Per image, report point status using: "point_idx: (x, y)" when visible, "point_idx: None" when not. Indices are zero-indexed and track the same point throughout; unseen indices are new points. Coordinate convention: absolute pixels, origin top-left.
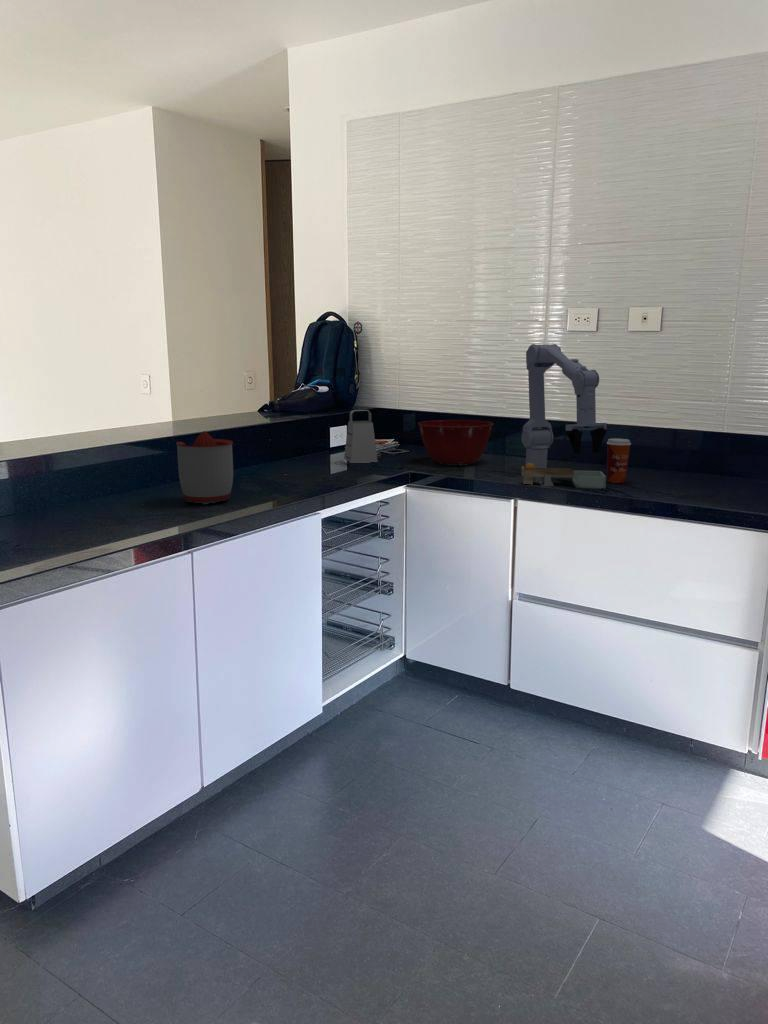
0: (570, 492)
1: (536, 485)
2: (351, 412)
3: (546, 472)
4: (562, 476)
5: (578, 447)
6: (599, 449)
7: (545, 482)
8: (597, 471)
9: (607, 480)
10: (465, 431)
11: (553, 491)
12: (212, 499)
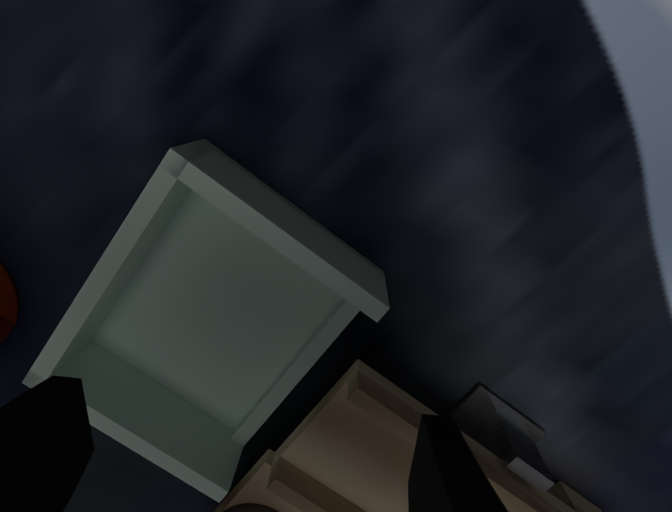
0: (555, 167)
1: None
2: None
3: (533, 499)
4: (426, 411)
5: (489, 487)
6: (23, 399)
7: (526, 435)
8: None
9: (8, 330)
10: None
11: (628, 259)
12: None
